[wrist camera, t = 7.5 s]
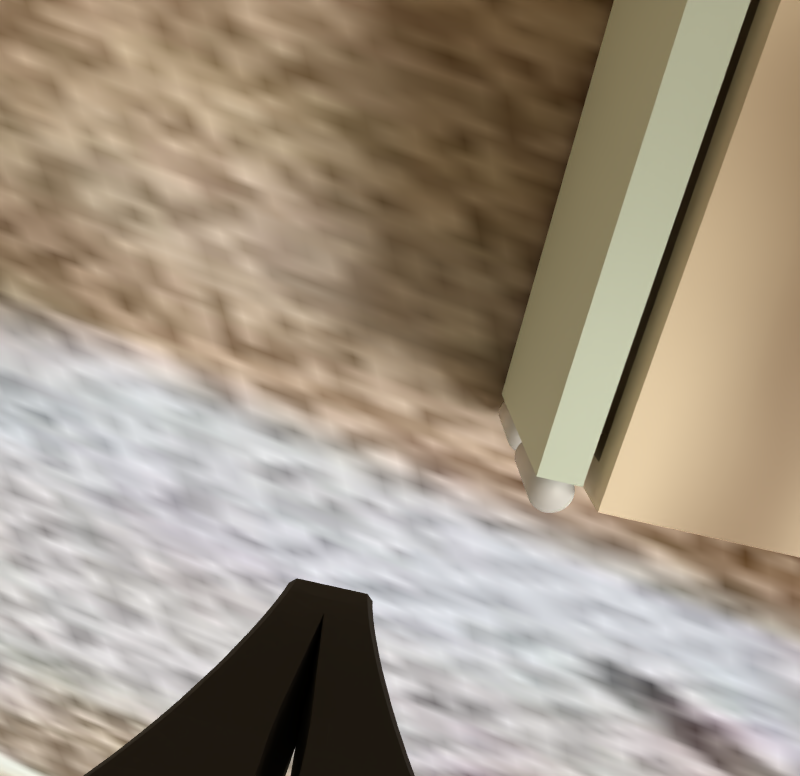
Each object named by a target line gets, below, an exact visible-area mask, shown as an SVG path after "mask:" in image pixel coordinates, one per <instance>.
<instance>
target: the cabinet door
mask: <svg viewBox="0 0 800 776" xmlns="http://www.w3.org/2000/svg"><path fill="white" fill-rule="evenodd" d="M750 1H751V0H614V2H613V6H612V9H611V13H610V16H609V20H608V23H607V27H606V30H605V34H604V37H603V41H602V44H601V48H600V51H599V55H598V58H597V62H596V65H595V69H594V72H593V76H592V79H591V83H590V86H589V90H588V93H587V97H586V100H585V104H584V107H583V111H582V114H581V118H580V121H579V125H578V128H577V132H576V135H575V139H574V142H573V146H572V149H571V153H570V156H569V160H568V163H567V167H566V170H565V174H564V177H563V181H562V184H561V188H560V191H559V195H558V198H557V202H556V205H555V209H554V213H553V216H552V220H551V223H550V227H549V230H548V234H547V237H546V241H545V244H544V248H543V251H542V255H541V258H540V262H539V265H538V269H537V272H536V276H535V279H534V283H533V286H532V290H531V293H530V297H529V300H528V304H527V307H526V311H525V314H524V318H523V321H522V325H521V328H520V332H519V335H518V339H517V342H516V346H515V349H514V353H513V356H512V360H511V363H510V367H509V370H508V374H507V377H506V381H505V384H504V388H503V391H502V396H503V398H504V402H503V403H502V405H501V406H500V409H499V417H500V420H501V423H502V426H503V428H504V431H505V434H506V437H507V440H508V442H509V444H510V446H511V447H512V448H513V449H514V450H516V451H515V462H516V465H517V467H518V470H519V473H520V476H521V478H522V481H523V484H524V487H525V490H526V492H527V495H528V498H529V501H530V502H531V504H532V505H533V506H534V507H535V508H536V509H538V510H540V511H542V512H546V513H554V512H558V511H561V510H563V509H564V508H566V507H567V506H568V505H569V504H570V503H571V501H572V499H573V497H574V492H575V491H574V485H577V486H581V487H583V485H584V482H585V479H586V476H587V473H588V470H589V467H590V464H591V461H592V458H593V456H594V453H595V450H596V447H597V444H598V441H599V438H600V435H601V432H602V430H603V427H604V424H605V421H606V418H607V415H608V412H609V409H610V406H611V403H612V401H613V398H614V395H615V392H616V389H617V386H618V383H619V380H620V377H621V374H622V372H623V369H624V366H625V363H626V360H627V357H628V354H629V351H630V348H631V346H632V343H633V340H634V337H635V334H636V331H637V328H638V325H639V322H640V319H641V317H642V314H643V311H644V308H645V305H646V302H647V299H648V296H649V293H650V291H651V288H652V285H653V282H654V279H655V276H656V273H657V270H658V267H659V264H660V262H661V259H662V256H663V253H664V250H665V247H666V244H667V241H668V238H669V235H670V233H671V230H672V227H673V224H674V221H675V218H676V215H677V212H678V209H679V207H680V204H681V201H682V198H683V195H684V192H685V189H686V186H687V183H688V180H689V178H690V175H691V172H692V169H693V166H694V163H695V160H696V157H697V154H698V151H699V149H700V146H701V143H702V140H703V137H704V134H705V131H706V128H707V125H708V123H709V120H710V117H711V114H712V111H713V108H714V105H715V102H716V99H717V96H718V94H719V91H720V88H721V85H722V82H723V79H724V76H725V73H726V70H727V67H728V65H729V62H730V59H731V56H732V53H733V50H734V47H735V44H736V41H737V39H738V36H739V33H740V30H741V27H742V24H743V21H744V18H745V15H746V12H747V10H748V7H749V4H750Z"/></svg>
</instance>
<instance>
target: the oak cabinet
mask: <svg viewBox="0 0 800 776" xmlns="http://www.w3.org/2000/svg"><path fill="white" fill-rule="evenodd" d="M583 488H584V489H585V491H586V493H587V494H588V496H589V498H590V500H591V501H592V503H593V505H594V506H595V508H596V510H597V512H599V513H603V514H608V515H612V516H617V517H621V518H626V519H630V520H635V521H639V522H644V523H648V524H653V525H657V526H662V527H666V528H671V529H675V530H679V531H684V532H688V533H693V534H697V535H702V536H706V537H711V538H715V539H720V540H724V541H729V542H733V543H738V544H742V545H747V546H751V547H756V548H760V549H764V550H769V551H773V552H778V553H782V554H787V555H791V556H796V557H800V0H751V1H750V4H749V7H748V10H747V12H746V15H745V18H744V21H743V24H742V27H741V30H740V33H739V36H738V39H737V41H736V44H735V47H734V50H733V53H732V56H731V59H730V62H729V65H728V67H727V70H726V73H725V76H724V79H723V82H722V85H721V88H720V91H719V94H718V96H717V99H716V102H715V105H714V108H713V111H712V114H711V117H710V120H709V123H708V125H707V128H706V131H705V134H704V137H703V140H702V143H701V146H700V149H699V151H698V154H697V157H696V160H695V163H694V166H693V169H692V172H691V175H690V178H689V180H688V183H687V186H686V189H685V192H684V195H683V198H682V201H681V204H680V207H679V209H678V212H677V215H676V218H675V221H674V224H673V227H672V230H671V233H670V235H669V238H668V241H667V244H666V247H665V250H664V253H663V256H662V259H661V262H660V264H659V267H658V270H657V273H656V276H655V279H654V282H653V285H652V288H651V291H650V293H649V296H648V299H647V302H646V305H645V308H644V311H643V314H642V317H641V319H640V322H639V325H638V328H637V331H636V334H635V337H634V340H633V343H632V346H631V348H630V351H629V354H628V357H627V360H626V363H625V366H624V369H623V372H622V374H621V377H620V380H619V383H618V386H617V389H616V392H615V395H614V398H613V401H612V403H611V406H610V409H609V412H608V415H607V418H606V421H605V424H604V427H603V430H602V432H601V435H600V438H599V441H598V444H597V447H596V450H595V453H594V456H593V458H592V461H591V464H590V467H589V470H588V473H587V476H586V479H585V482H584V485H583Z"/></svg>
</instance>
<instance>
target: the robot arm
mask: <svg viewBox="0 0 800 776" xmlns="http://www.w3.org/2000/svg"><path fill="white" fill-rule="evenodd" d="M372 602H373V601H372V600H371V598H370V597H369V595H368V594H365V593H360V592H356V591H351V590H347V589H342V588H338V587H333V586H329V585H324V584H320V583H315V582H311V581H306V580H302V579H295V580H293V581H291V582H290V583H289V584H288V585H287V587H286V588H285V590H284V591H283V592H282V594H281V595H280V596H279V598H278V599H277V600H276V602H275V603H274V604H273V605H272V607H271V608H270V609H269V610H268V611H267V612H266V614H265V615H264V616H263V617H262V618H261V619H260V620H259V622H258V623H257V624H256V625H255V626H254V627H253V628H252V630H251V631H250V632H249V633H248V634H247V635H246V636H245V637H244V638H243V639H242V640H241V641H240V642H239V643H238V644H237V645H236V646H235V647H234V648H233V649H232V650H231V651H230V652H229V654H228V655H227V656H226V657H225V658H224V659H223V660H222V661H221V662H220V663H219V664H218V665H217V666H216V667H214V668H213V669H212V670H211V671H210V672H209V673H208V674H207V675H206V676H205V677H204V678H203V679H201V680H200V681H199V682H198V683H197V684H196V685H195V686H194V687H193V688H192V689H191V690H190V691H188V692H187V693H186V694H185V695H184V696H183V697H182V698H181V699H180V700H179V701H178V702H176V703H175V704H174V705H173V706H172V707H171V708H169V709H168V710H167V711H166V712H165V713H164V714H162V715H161V716H160V717H159V718H158V719H157V720H155V721H154V722H153V723H152V724H150V725H149V726H148V727H147V728H146V729H144V730H143V731H142V732H141V733H139V734H138V735H137V736H136V737H134V738H133V739H132V740H130V741H129V742H128V743H127V744H125V745H124V746H123V747H122V748H120V749H119V750H118V751H116V752H115V753H114V754H113V755H111V756H110V757H109V758H107V759H106V760H104V761H103V762H102V763H100V764H99V765H98V766H96V767H95V768H93V769H92V770H91V771H89V772H88V773H87V774H85V775H84V776H285V775H286V772H287V769H288V767H289V764H290V761H291V758H292V755H293V752H294V749H295V753H294V759H293V765H292V771H291V776H415V775H414V773H413V770H412V767H411V764H410V762H409V759H408V756H407V753H406V750H405V747H404V744H403V741H402V738H401V735H400V732H399V729H398V726H397V722H396V719H395V716H394V712H393V709H392V706H391V702H390V698H389V694H388V690H387V686H386V683H385V679H384V675H383V671H382V667H381V662H380V658H379V653H378V647H377V642H376V636H375V630H374V622H373V610H372Z"/></svg>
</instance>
